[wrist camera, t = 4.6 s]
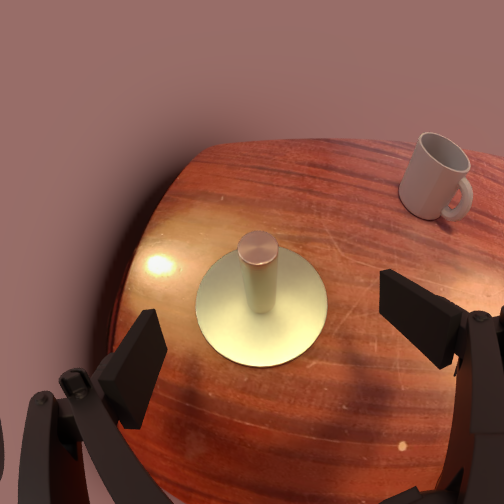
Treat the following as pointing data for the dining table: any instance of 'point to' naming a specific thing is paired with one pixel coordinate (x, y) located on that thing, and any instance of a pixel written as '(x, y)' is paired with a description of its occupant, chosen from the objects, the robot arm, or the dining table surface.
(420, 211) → the cup
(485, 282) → the dining table surface
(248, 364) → the lid
